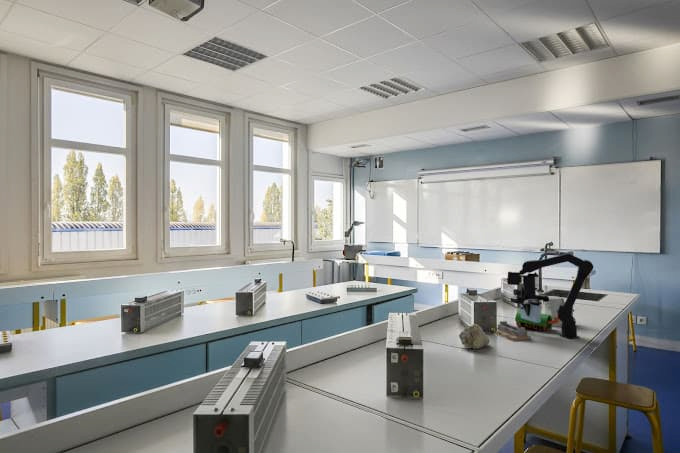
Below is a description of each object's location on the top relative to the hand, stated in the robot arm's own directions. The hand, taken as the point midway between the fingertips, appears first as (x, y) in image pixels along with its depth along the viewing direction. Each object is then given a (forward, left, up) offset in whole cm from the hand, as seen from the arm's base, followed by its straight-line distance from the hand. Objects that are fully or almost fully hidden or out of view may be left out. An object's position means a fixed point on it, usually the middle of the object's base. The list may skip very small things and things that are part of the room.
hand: (530, 315), depth 207 cm
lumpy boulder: (-12, +39, -9) cm, 42 cm away
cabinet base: (+1, +12, -9) cm, 15 cm away
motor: (+15, -4, -5) cm, 16 cm away
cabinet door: (0, 0, -2) cm, 2 cm away
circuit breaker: (+12, -27, -9) cm, 31 cm away
